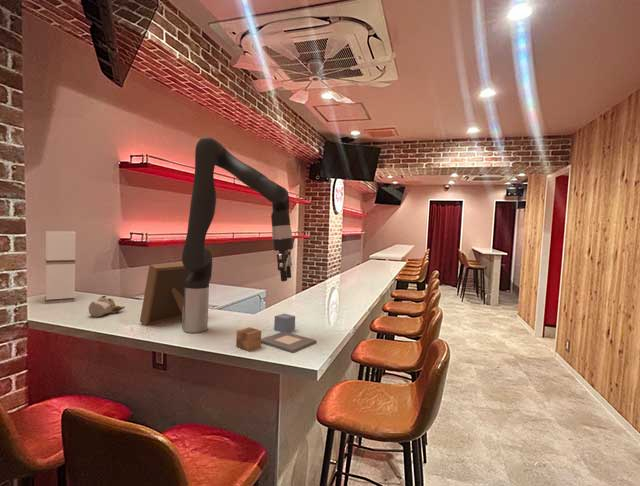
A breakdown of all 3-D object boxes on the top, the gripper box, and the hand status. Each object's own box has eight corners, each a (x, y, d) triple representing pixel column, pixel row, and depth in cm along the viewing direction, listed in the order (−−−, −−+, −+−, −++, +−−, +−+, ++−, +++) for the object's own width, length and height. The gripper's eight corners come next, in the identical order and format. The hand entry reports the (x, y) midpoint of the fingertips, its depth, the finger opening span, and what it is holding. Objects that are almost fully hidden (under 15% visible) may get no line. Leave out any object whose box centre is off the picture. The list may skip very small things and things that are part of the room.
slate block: (274, 330, 142) (274, 316, 142) (283, 327, 147) (284, 313, 147) (285, 333, 139) (285, 318, 138) (294, 330, 144) (295, 316, 143)
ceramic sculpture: (81, 297, 147) (105, 292, 162) (79, 317, 147) (104, 311, 162) (104, 298, 146) (127, 294, 161) (103, 319, 146) (125, 313, 161)
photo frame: (139, 324, 142) (141, 263, 141) (184, 314, 161) (186, 260, 160) (162, 330, 134) (163, 267, 133) (206, 319, 153) (208, 263, 152)
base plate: (258, 342, 126) (258, 339, 126) (283, 333, 138) (283, 331, 138) (292, 353, 117) (292, 349, 117) (316, 342, 129) (316, 339, 129)
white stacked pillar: (72, 297, 183) (73, 231, 181) (74, 301, 175) (75, 232, 173) (45, 299, 175) (46, 231, 174) (45, 304, 167) (46, 231, 166)
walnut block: (235, 347, 120) (236, 330, 120) (248, 343, 125) (249, 327, 125) (248, 352, 117) (248, 334, 116) (260, 347, 121) (261, 330, 121)
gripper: (277, 238, 140) (281, 277, 141) (268, 239, 126) (272, 283, 127) (295, 236, 139) (299, 276, 140) (288, 237, 125) (292, 281, 126)
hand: (286, 279), depth 133 cm, fingers open, 8 cm apart
